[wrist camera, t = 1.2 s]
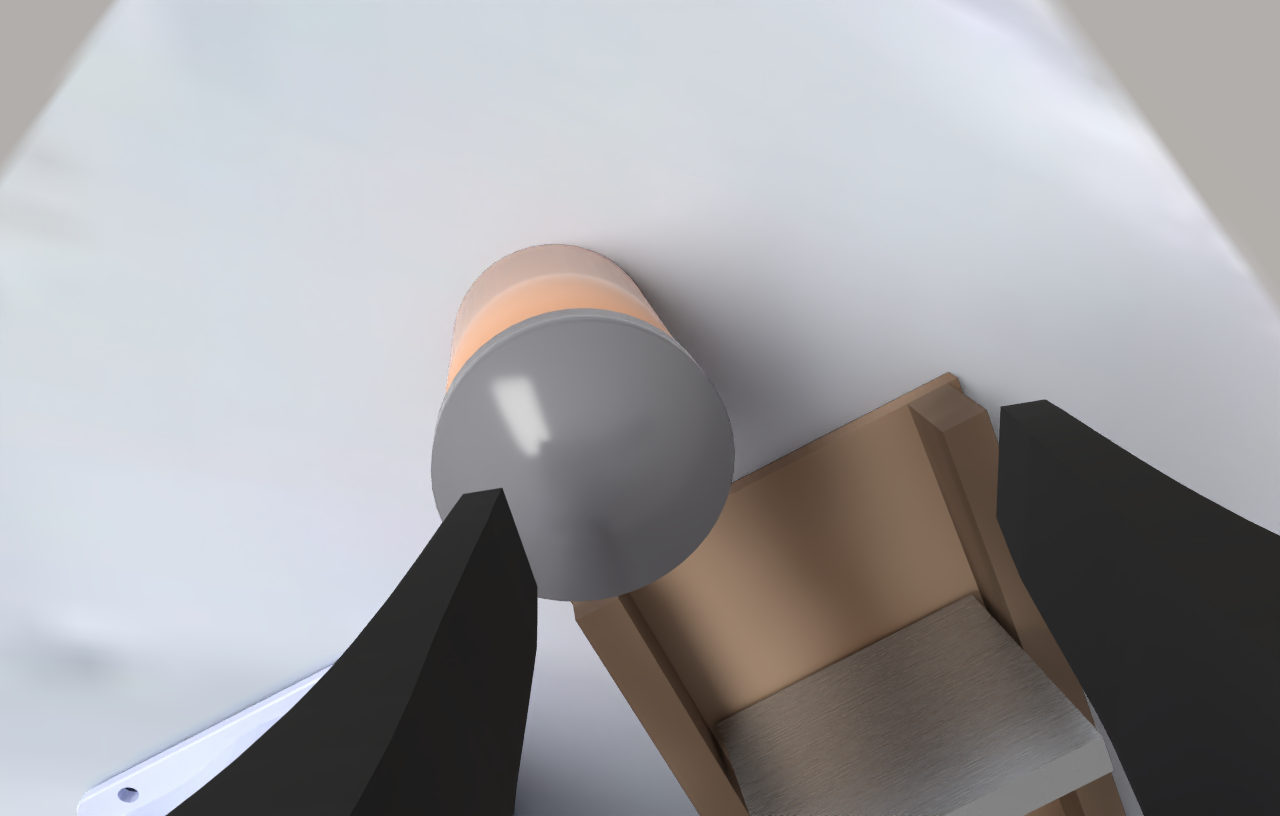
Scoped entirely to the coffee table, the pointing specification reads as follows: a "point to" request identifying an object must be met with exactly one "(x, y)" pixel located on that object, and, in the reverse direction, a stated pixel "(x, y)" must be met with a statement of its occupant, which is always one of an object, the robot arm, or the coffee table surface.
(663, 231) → the coffee table surface
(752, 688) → the pusher lane
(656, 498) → the jar
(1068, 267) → the coffee table surface
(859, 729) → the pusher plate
